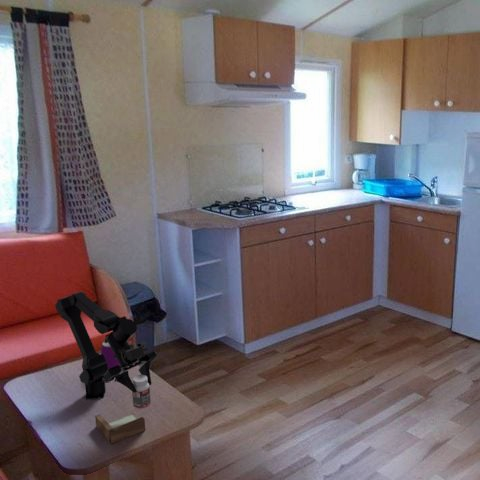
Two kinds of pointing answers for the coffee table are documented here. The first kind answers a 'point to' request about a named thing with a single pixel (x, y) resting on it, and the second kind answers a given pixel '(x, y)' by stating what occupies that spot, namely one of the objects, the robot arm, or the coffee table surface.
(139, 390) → the pill bottle
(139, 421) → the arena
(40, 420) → the coffee table surface
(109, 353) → the beverage can
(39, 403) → the coffee table surface
